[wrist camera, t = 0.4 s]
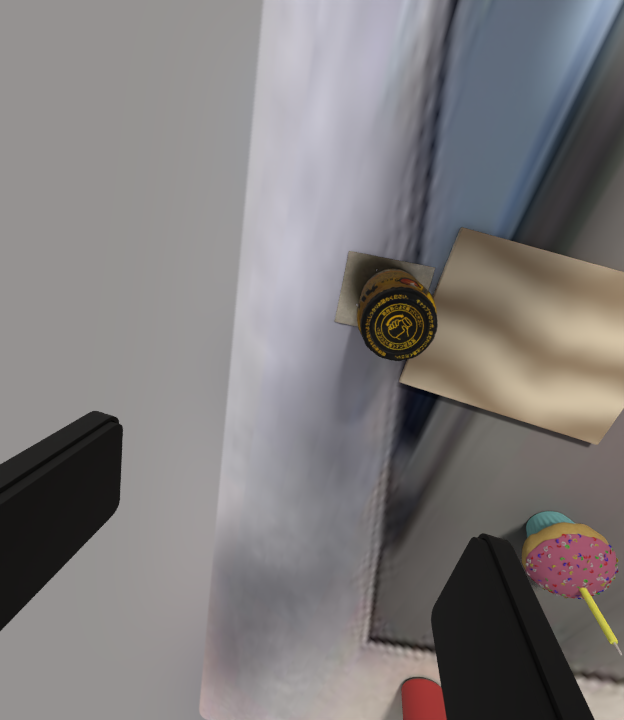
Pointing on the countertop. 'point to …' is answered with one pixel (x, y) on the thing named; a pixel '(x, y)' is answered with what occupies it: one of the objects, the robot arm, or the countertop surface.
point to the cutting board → (527, 336)
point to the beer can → (422, 700)
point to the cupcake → (569, 561)
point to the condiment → (388, 305)
